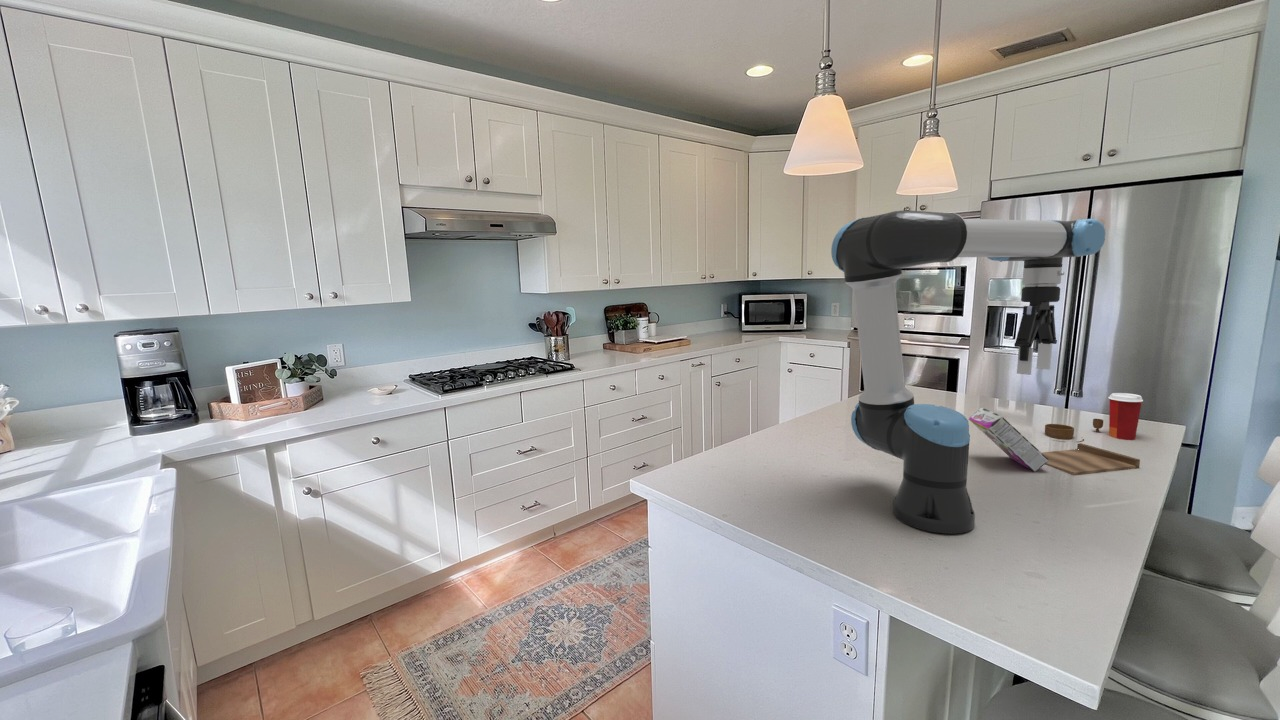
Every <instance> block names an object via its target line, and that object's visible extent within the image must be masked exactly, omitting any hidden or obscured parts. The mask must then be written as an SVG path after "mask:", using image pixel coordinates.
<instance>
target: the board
mask: <svg viewBox="0 0 1280 720" xmlns="http://www.w3.org/2000/svg"><path fill="white" fill-rule="evenodd" d="M1078 449H1079V450H1078ZM1041 453H1042V454H1043V455H1044V456H1045V457H1047V458H1048V459H1049V461H1048V462H1047V463H1046V464H1044V465H1046V466H1048V467H1051V468H1053V469H1056V470H1059V471H1061V472H1064V473H1066V474H1069V475H1071V476H1082V475H1090V474H1100V473H1108V472H1109V473H1110V472H1118V471H1126V470H1136V469H1137V470H1138V469H1140V464H1141V459H1140V458H1135V457H1132V456H1130V455H1129V456H1128V455H1125V454H1121V453H1118V452H1114V451H1110V450H1107V449H1103V448H1099V447H1097V446H1092V445H1089V444H1085V443H1082V442H1078V443H1077V445H1076V449H1075V450H1074V448H1073V449H1064V450H1054V451H1044V452H1042V451H1041Z"/></svg>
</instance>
